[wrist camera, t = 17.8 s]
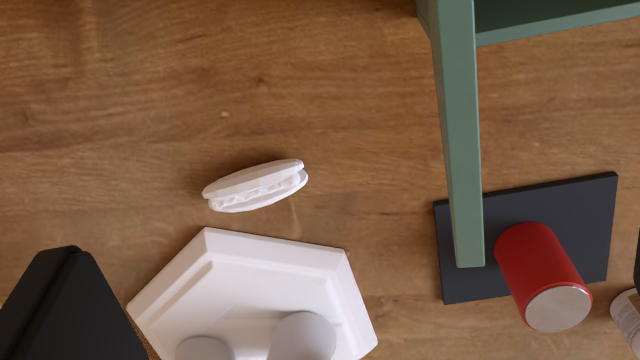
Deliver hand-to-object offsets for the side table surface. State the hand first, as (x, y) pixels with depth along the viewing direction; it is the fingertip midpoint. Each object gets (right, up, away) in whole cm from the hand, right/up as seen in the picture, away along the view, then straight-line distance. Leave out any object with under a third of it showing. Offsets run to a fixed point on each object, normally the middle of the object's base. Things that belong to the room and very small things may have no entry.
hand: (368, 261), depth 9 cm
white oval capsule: (-6, +2, +33) cm, 33 cm away
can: (+16, -4, +36) cm, 39 cm away
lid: (+4, +8, +10) cm, 14 cm away
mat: (+16, -4, +36) cm, 40 cm away
